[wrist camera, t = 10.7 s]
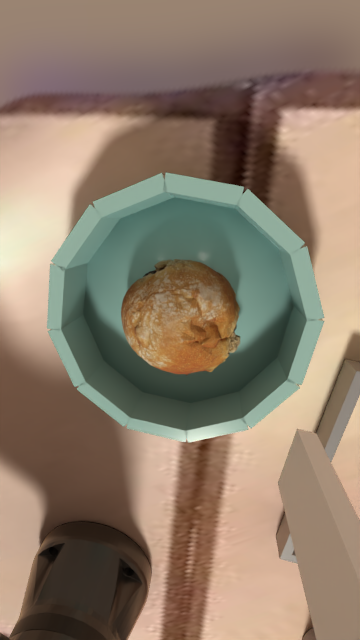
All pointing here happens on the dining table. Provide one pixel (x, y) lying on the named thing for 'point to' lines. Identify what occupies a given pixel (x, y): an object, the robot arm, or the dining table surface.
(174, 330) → the bread roll
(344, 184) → the dining table surface
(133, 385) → the bowl
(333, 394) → the rectangular frame
